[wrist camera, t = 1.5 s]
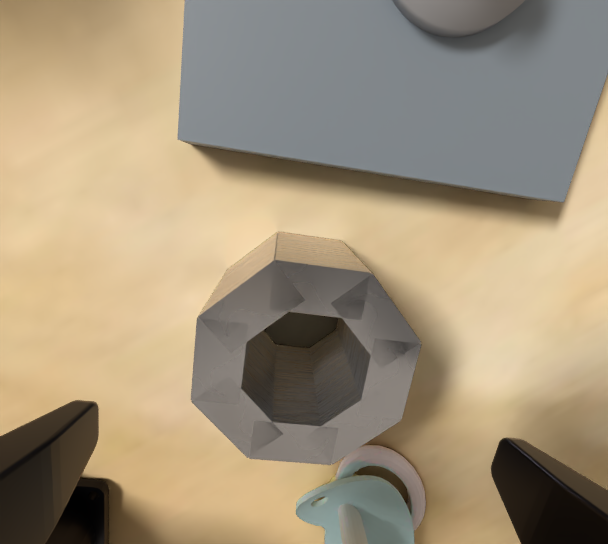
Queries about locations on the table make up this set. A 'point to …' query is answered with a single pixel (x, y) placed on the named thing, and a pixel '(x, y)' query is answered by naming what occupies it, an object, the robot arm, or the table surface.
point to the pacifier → (366, 501)
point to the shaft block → (400, 86)
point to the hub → (302, 354)
